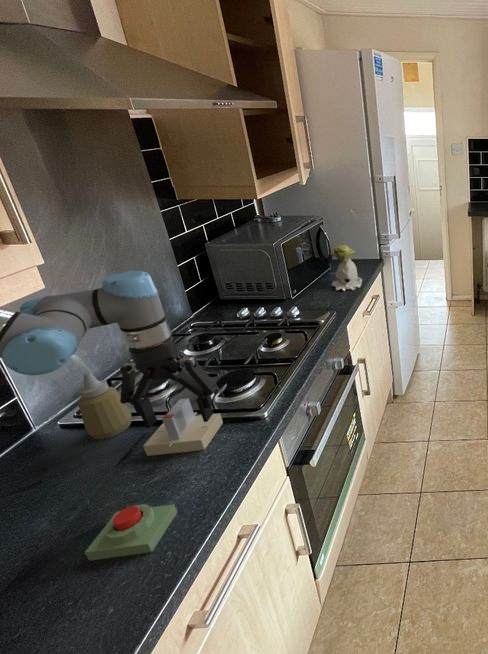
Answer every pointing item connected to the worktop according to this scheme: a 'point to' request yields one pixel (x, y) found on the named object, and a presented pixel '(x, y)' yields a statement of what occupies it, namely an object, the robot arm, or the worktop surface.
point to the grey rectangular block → (179, 419)
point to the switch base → (184, 437)
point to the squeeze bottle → (102, 409)
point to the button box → (132, 534)
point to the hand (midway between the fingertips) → (180, 420)
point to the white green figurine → (346, 269)
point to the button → (127, 518)
